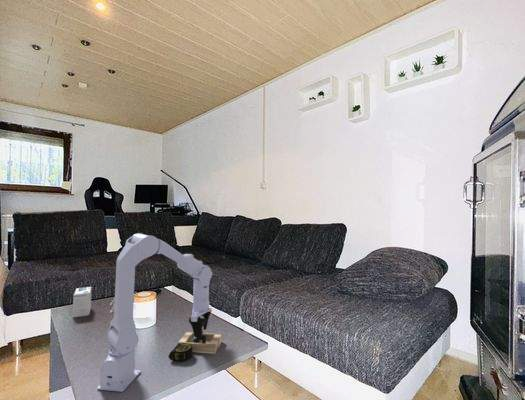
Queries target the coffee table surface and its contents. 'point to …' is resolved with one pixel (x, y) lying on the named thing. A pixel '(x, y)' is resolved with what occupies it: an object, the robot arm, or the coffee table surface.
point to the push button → (202, 338)
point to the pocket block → (208, 347)
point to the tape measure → (181, 352)
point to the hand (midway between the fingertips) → (200, 333)
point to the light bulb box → (82, 302)
